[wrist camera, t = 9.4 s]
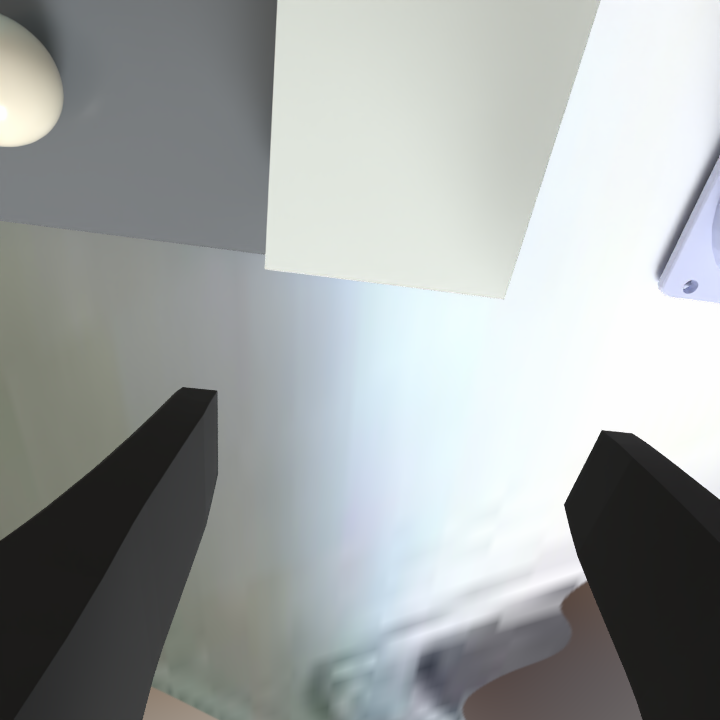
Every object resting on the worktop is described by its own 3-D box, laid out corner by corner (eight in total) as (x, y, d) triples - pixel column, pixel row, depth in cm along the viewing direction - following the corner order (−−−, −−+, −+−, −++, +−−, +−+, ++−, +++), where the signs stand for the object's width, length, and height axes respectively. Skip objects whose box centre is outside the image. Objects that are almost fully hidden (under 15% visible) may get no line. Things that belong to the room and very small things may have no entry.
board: (595, -216, 12) (617, -238, 11) (466, 267, 18) (472, 281, 17) (-256, -402, 10) (-321, -447, 9) (-75, 196, 17) (-102, 207, 16)
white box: (559, -137, 12) (672, -224, 8) (465, 229, 16) (504, 299, 12) (313, -186, 11) (291, -310, 7) (287, 205, 16) (264, 269, 12)
